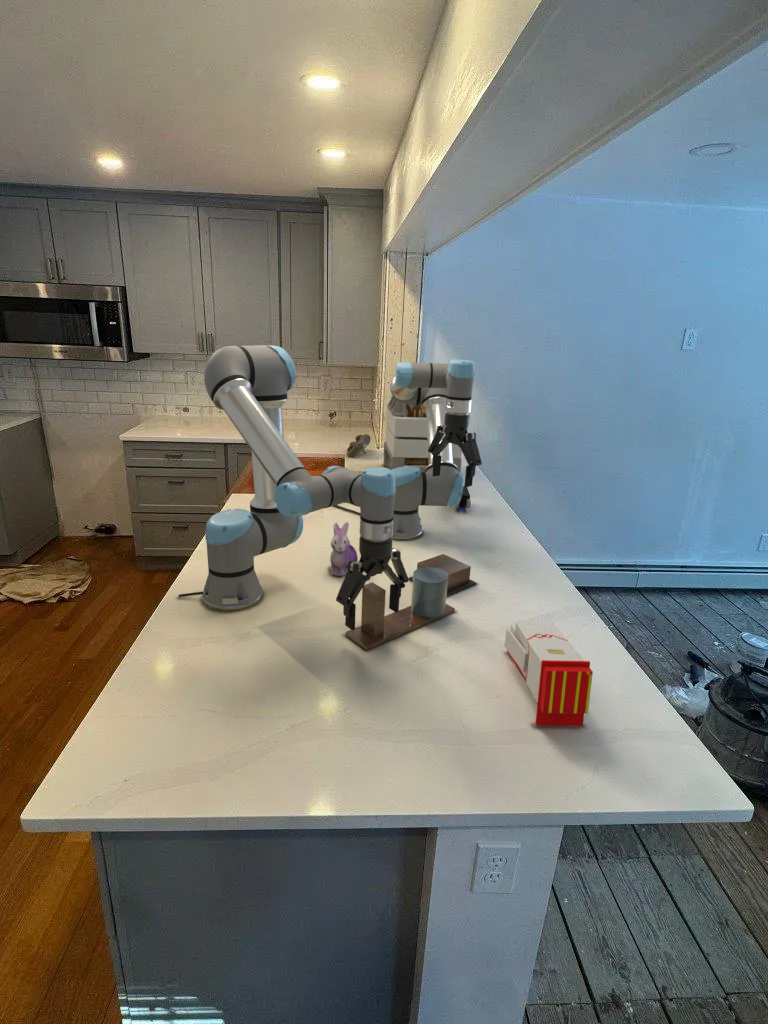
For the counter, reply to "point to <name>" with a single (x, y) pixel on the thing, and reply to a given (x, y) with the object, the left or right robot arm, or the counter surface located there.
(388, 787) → the counter surface
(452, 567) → the lid
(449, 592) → the coaster
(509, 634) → the toy
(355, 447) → the fossil
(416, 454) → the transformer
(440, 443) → the right robot arm
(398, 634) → the wooden base with post
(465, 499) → the figurine character
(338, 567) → the figurine
